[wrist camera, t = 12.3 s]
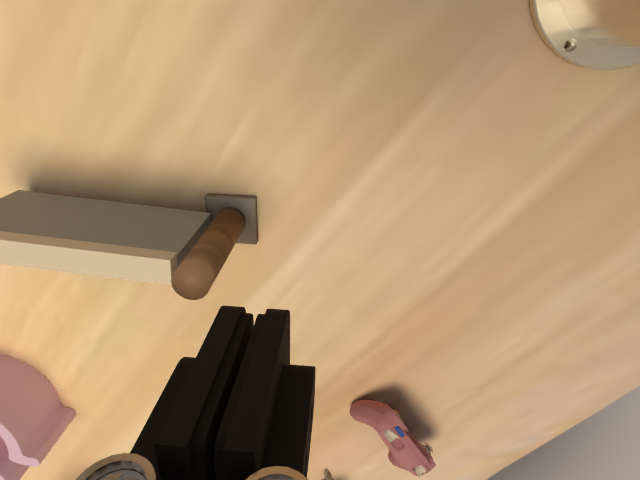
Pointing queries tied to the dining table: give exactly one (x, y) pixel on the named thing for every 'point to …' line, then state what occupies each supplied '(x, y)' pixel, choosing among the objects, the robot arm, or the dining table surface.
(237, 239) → the wooden pegs
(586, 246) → the dining table surface
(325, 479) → the grey animal figurine
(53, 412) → the clip
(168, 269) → the bar
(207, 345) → the robot arm
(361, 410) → the video game controller
